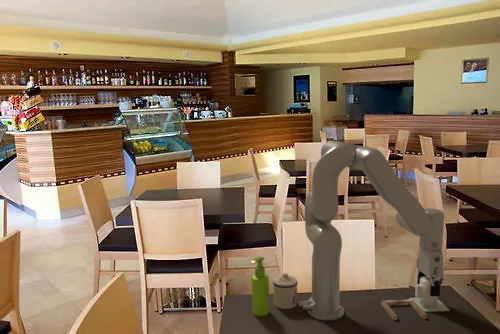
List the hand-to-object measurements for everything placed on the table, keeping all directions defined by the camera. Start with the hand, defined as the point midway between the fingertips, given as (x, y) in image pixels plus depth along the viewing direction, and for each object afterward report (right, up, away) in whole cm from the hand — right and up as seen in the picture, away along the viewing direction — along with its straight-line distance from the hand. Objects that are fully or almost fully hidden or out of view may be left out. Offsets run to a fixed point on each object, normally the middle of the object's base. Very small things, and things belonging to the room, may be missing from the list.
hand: (428, 289), depth 148 cm
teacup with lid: (-51, -6, +5) cm, 51 cm away
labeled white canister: (0, -5, +1) cm, 5 cm away
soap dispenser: (-60, -8, -2) cm, 61 cm away
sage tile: (0, -6, +1) cm, 6 cm away
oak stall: (-10, -6, -4) cm, 13 cm away
